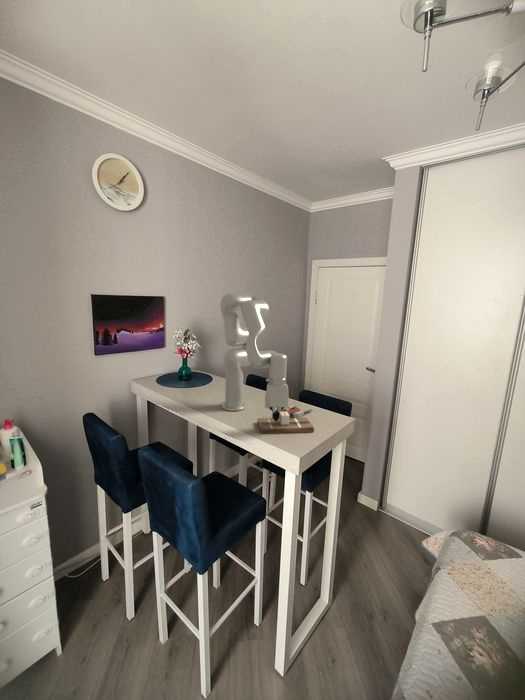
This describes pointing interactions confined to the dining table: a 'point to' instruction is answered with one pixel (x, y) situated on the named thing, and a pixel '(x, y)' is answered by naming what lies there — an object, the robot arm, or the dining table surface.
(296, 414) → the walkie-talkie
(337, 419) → the dining table surface
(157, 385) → the dining table surface
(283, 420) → the fader
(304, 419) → the brown board with strips
